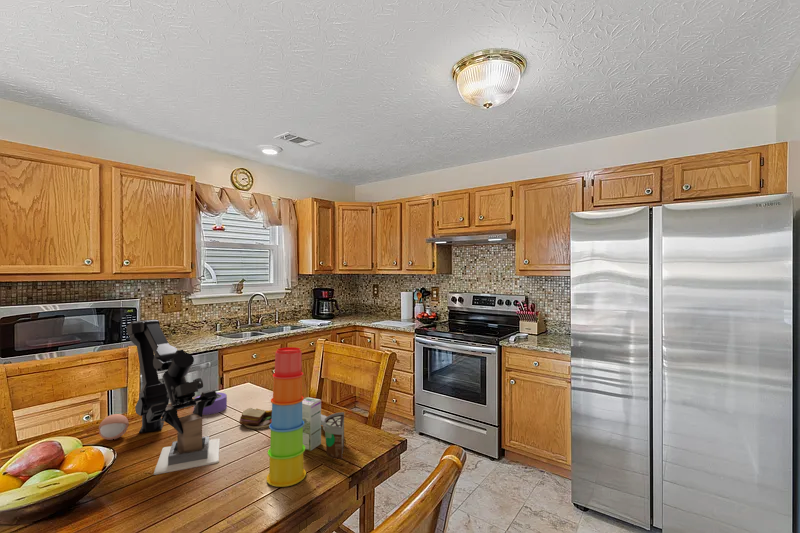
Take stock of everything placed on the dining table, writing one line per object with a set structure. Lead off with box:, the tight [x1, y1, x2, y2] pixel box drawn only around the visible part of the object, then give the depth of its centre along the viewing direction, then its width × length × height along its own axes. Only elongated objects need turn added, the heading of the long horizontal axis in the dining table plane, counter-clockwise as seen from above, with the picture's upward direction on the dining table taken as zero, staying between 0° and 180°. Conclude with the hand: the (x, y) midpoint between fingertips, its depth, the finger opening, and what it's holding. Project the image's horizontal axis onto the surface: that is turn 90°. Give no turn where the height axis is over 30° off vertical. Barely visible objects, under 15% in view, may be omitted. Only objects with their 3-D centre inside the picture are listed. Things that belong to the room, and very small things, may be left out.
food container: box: [322, 411, 345, 460], centre depth 117 cm, size 12×6×10 cm, turn 5°
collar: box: [168, 435, 210, 465], centre depth 115 cm, size 10×10×2 cm
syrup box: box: [302, 396, 322, 452], centre depth 121 cm, size 6×6×14 cm
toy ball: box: [98, 413, 130, 441], centre depth 126 cm, size 8×8×8 cm
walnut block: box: [176, 413, 203, 453], centre depth 115 cm, size 5×5×10 cm
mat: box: [153, 438, 221, 476], centre depth 115 cm, size 16×16×1 cm
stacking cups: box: [266, 346, 307, 488], centre depth 103 cm, size 10×10×35 cm
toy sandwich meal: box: [239, 407, 272, 430], centre depth 139 cm, size 12×14×5 cm
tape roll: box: [194, 392, 228, 416], centre depth 152 cm, size 12×12×5 cm
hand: (191, 430), depth 114 cm, fingers closed on walnut block, 5 cm apart
